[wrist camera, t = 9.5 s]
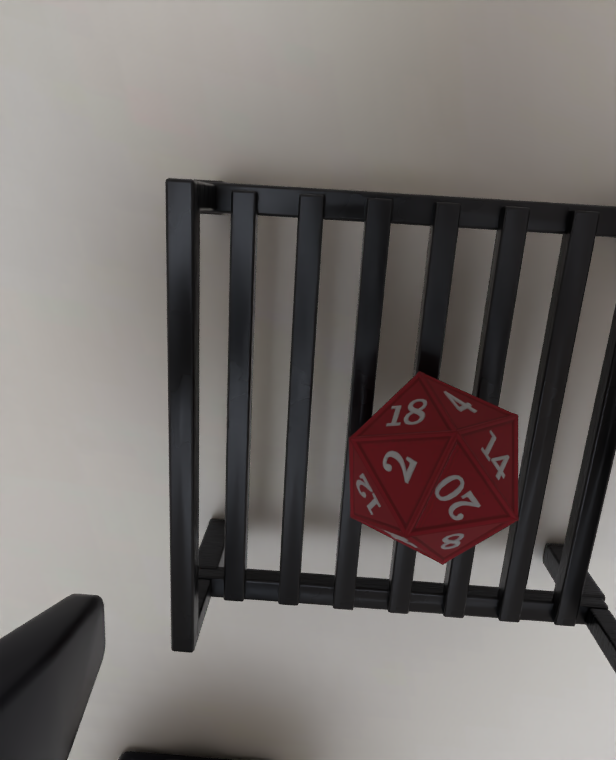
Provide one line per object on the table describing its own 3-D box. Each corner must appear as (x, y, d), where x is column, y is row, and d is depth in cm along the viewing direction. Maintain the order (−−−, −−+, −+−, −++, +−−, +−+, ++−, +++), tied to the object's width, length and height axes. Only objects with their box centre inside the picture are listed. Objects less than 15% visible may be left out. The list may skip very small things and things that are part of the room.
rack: (564, 564, 20) (649, 692, 14) (209, 538, 20) (167, 655, 15) (641, 210, 16) (789, 209, 11) (213, 184, 17) (159, 172, 11)
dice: (530, 444, 15) (599, 525, 11) (386, 530, 16) (404, 632, 12) (453, 328, 14) (500, 372, 10) (306, 425, 15) (298, 499, 11)
